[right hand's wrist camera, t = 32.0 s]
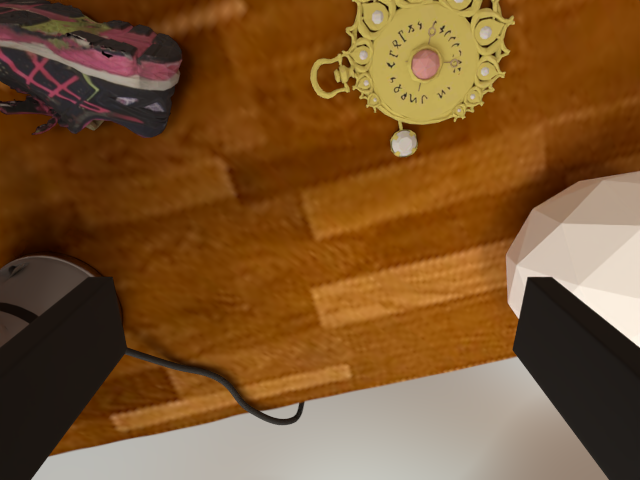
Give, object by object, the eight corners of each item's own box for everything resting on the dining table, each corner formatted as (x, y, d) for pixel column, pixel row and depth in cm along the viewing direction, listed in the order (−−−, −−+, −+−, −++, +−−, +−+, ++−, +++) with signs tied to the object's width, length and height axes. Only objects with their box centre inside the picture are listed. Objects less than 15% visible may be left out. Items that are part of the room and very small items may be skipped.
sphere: (571, 229, 53) (743, 348, 40) (452, 304, 49) (603, 462, 36) (635, 101, 38) (934, 225, 26) (473, 193, 34) (736, 392, 22)
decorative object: (529, 126, 40) (337, 180, 41) (517, 124, 42) (335, 175, 43) (509, -125, 33) (276, -53, 33) (495, -110, 35) (278, -44, 36)
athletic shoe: (-121, -30, 31) (-79, 124, 36) (88, 2, 25) (103, 181, 30) (25, -3, 41) (42, 115, 46) (200, 24, 35) (198, 157, 40)
